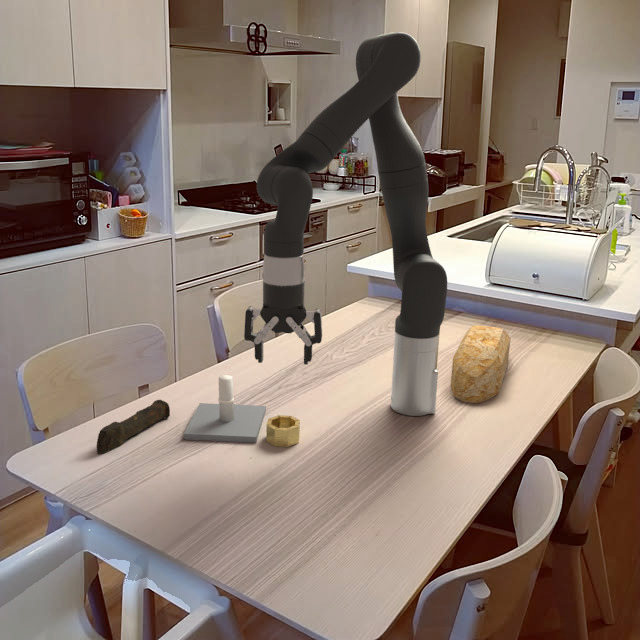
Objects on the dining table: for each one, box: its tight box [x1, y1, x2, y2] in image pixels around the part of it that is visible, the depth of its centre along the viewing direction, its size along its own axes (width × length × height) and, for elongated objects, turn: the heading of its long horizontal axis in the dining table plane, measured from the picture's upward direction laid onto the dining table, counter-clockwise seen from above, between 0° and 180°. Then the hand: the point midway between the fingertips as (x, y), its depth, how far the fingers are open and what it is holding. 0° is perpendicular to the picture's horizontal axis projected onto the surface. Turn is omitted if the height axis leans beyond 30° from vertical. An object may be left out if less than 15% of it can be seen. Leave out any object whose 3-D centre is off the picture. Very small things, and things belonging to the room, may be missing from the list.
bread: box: [450, 324, 511, 404], centre depth 170 cm, size 36×11×10 cm, turn 160°
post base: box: [183, 374, 267, 443], centre depth 141 cm, size 14×14×10 cm
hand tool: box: [96, 399, 171, 455], centre depth 138 cm, size 19×4×5 cm, turn 151°
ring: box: [266, 414, 301, 448], centre depth 137 cm, size 6×6×4 cm
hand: (283, 362), depth 133 cm, fingers open, 8 cm apart
